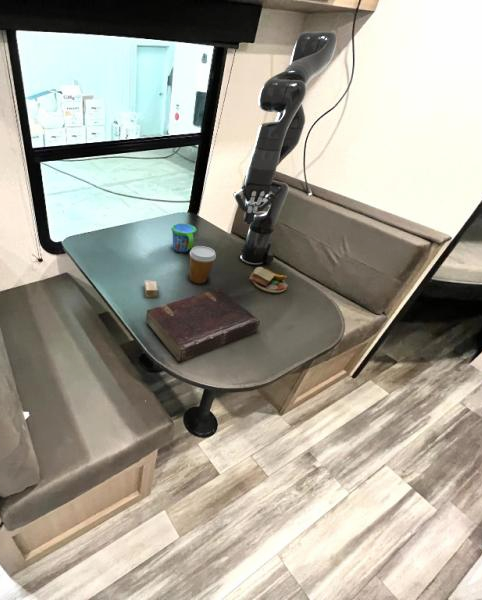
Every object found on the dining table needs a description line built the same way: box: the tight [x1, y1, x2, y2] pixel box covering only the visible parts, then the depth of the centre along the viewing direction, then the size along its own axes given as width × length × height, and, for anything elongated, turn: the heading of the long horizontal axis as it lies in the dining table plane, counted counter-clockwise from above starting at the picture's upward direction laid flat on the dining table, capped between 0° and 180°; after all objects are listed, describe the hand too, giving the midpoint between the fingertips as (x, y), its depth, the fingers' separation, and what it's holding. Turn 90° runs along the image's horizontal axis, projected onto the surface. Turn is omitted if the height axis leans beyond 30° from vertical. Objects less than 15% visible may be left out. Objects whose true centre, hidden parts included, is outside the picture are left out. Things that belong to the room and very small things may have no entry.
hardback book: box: [145, 287, 261, 362], centre depth 97 cm, size 29×19×5 cm, turn 117°
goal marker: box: [143, 280, 159, 298], centre depth 113 cm, size 4×6×3 cm, turn 3°
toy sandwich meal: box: [249, 266, 289, 294], centre depth 119 cm, size 12×14×5 cm
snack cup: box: [170, 222, 197, 253], centre depth 139 cm, size 16×10×10 cm
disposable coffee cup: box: [189, 245, 217, 284], centre depth 118 cm, size 10×10×12 cm
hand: (246, 223), depth 99 cm, fingers closed
